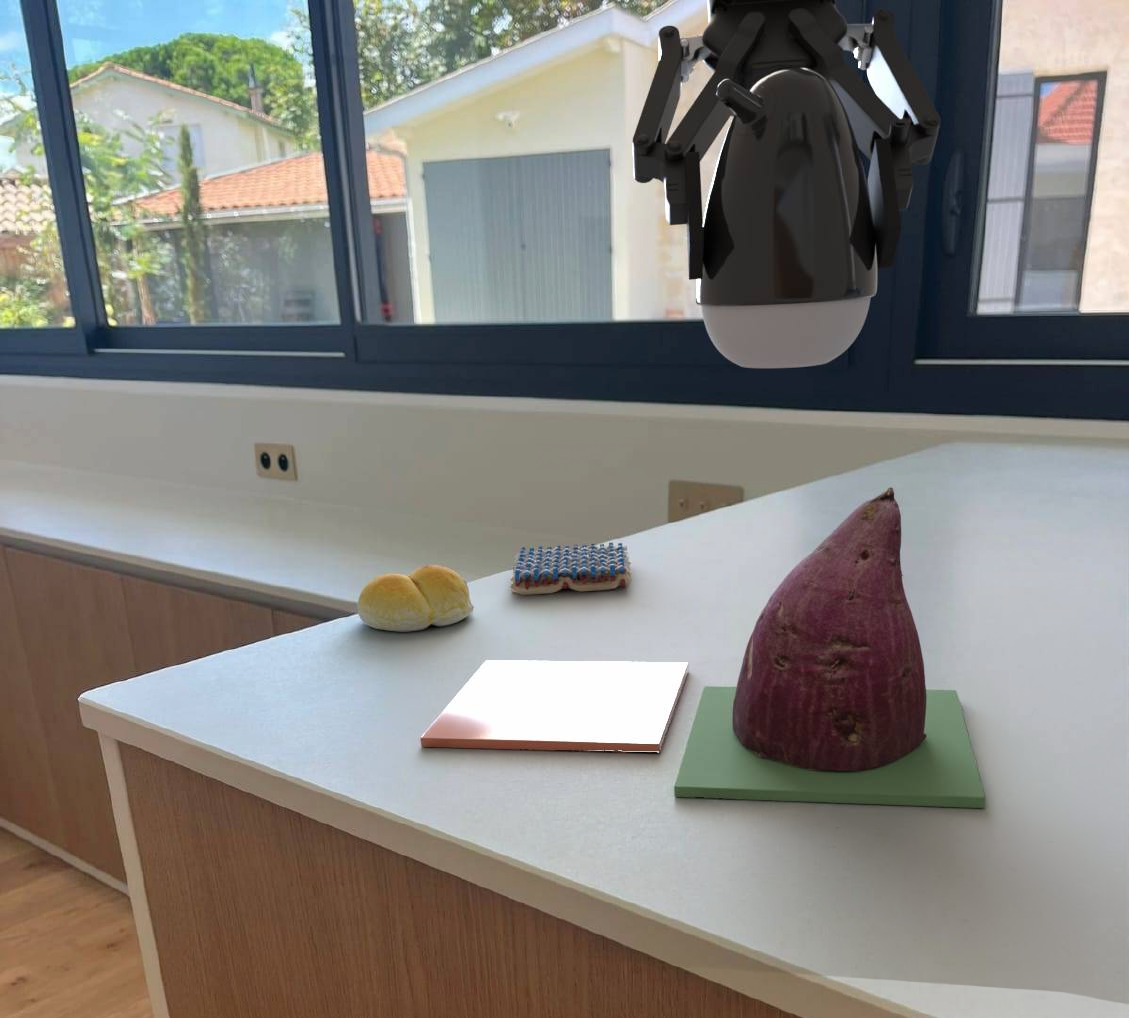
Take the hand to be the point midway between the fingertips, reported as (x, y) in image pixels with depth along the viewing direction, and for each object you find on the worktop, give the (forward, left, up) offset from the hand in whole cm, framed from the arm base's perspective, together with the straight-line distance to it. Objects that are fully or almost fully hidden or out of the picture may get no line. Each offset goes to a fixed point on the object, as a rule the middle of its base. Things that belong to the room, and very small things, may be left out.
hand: (792, 254), depth 62 cm
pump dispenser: (+1, -3, -6) cm, 7 cm away
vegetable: (-3, +9, -25) cm, 26 cm away
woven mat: (+19, -27, -25) cm, 42 cm away
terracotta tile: (+13, +4, -25) cm, 29 cm away
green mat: (-3, +9, -25) cm, 27 cm away
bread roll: (+29, -15, -25) cm, 42 cm away
